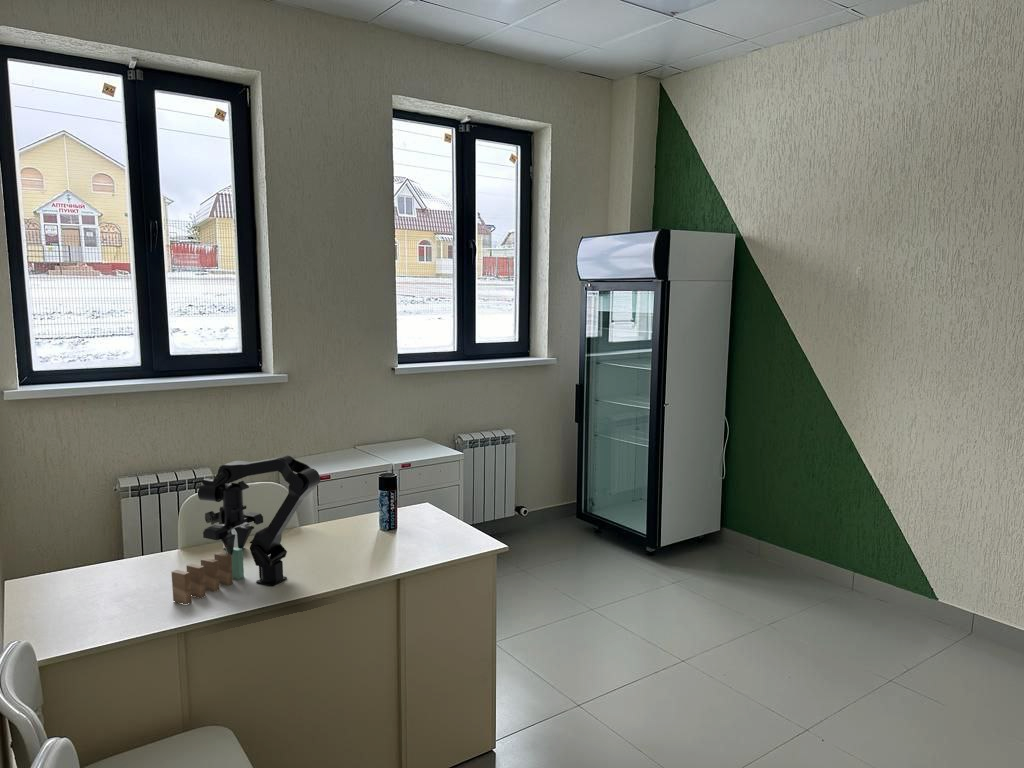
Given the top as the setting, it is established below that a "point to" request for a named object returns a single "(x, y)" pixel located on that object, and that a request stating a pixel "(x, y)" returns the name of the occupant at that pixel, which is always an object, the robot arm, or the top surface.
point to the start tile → (237, 563)
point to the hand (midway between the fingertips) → (235, 552)
